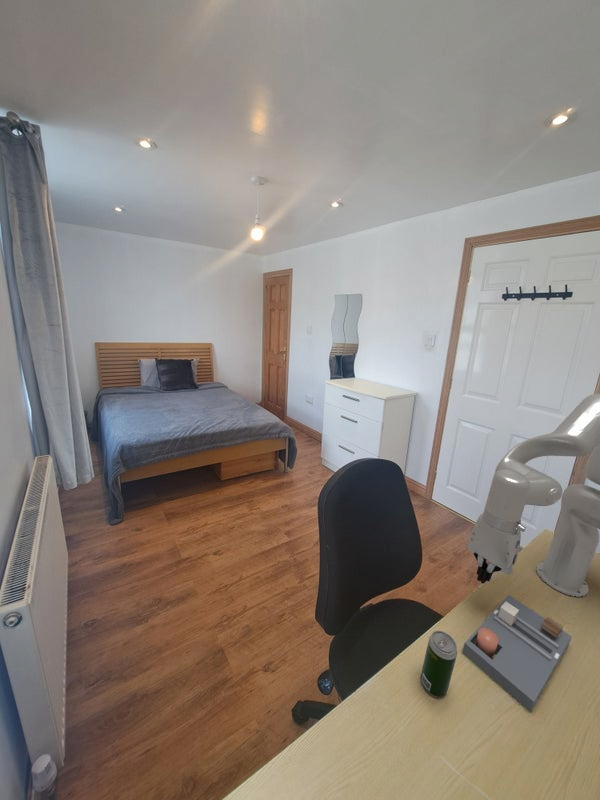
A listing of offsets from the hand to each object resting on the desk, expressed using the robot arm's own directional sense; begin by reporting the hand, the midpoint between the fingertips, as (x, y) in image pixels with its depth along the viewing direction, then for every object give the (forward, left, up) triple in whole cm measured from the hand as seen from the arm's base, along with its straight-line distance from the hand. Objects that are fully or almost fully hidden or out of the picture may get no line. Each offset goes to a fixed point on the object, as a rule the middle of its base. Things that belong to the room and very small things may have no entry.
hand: (482, 579), depth 83 cm
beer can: (+26, +4, -10) cm, 28 cm away
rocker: (-7, +15, -6) cm, 17 cm away
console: (+2, +11, -10) cm, 15 cm away
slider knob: (-1, +7, -7) cm, 10 cm away
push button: (+10, +7, -8) cm, 15 cm away
